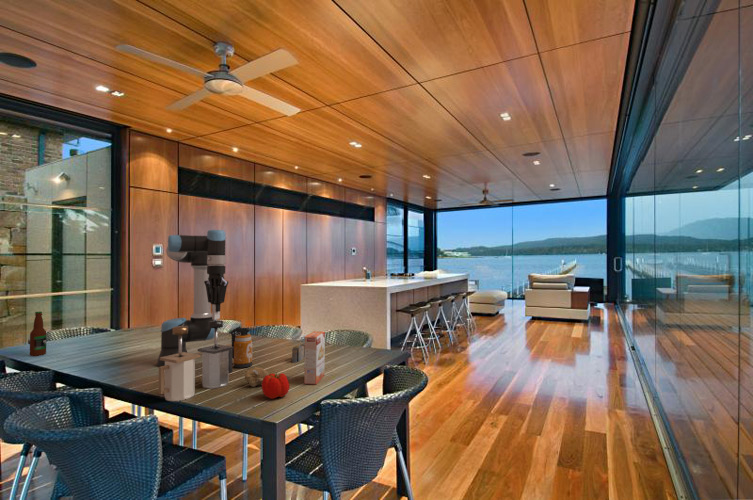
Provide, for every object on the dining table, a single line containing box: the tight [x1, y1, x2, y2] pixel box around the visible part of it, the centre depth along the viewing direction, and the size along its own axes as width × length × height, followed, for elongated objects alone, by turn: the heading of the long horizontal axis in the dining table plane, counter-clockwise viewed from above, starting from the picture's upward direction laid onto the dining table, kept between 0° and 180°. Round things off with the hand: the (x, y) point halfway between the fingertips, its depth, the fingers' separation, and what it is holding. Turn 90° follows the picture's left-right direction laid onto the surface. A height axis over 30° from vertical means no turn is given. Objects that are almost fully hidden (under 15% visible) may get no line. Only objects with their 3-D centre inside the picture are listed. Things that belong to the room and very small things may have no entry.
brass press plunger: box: [173, 326, 188, 357], centre depth 159 cm, size 7×7×16 cm
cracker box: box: [303, 330, 326, 385], centre depth 180 cm, size 14×6×21 cm, turn 172°
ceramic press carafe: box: [158, 352, 201, 402], centre depth 157 cm, size 10×14×16 cm
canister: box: [230, 326, 253, 369], centre depth 204 cm, size 9×11×20 cm
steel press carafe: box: [197, 344, 234, 390], centre depth 175 cm, size 10×14×16 cm
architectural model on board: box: [291, 343, 305, 364], centre depth 216 cm, size 11×3×10 cm, turn 166°
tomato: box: [261, 372, 290, 400], centre depth 158 cm, size 11×11×9 cm
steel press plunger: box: [209, 319, 224, 349], centre depth 174 cm, size 7×7×16 cm
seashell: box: [244, 366, 270, 388], centre depth 175 cm, size 14×8×8 cm, turn 168°
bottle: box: [29, 311, 47, 357], centre depth 231 cm, size 7×7×25 cm
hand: (216, 319), depth 174 cm, fingers closed
